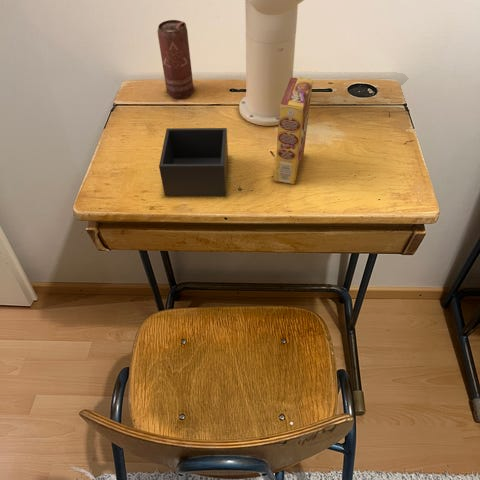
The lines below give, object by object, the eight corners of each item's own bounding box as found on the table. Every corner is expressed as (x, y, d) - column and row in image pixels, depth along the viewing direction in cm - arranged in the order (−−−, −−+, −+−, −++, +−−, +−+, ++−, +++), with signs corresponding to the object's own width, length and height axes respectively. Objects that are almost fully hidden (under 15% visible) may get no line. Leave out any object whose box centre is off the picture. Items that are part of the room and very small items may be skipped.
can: (200, 91, 105) (193, 24, 94) (178, 102, 103) (169, 35, 91) (183, 82, 108) (174, 15, 96) (161, 92, 105) (150, 25, 94)
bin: (171, 158, 91) (166, 128, 86) (228, 158, 91) (226, 127, 86) (164, 196, 85) (158, 166, 80) (225, 196, 85) (223, 165, 79)
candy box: (296, 185, 86) (303, 107, 73) (273, 182, 87) (277, 104, 74) (305, 156, 91) (313, 78, 78) (283, 153, 91) (288, 75, 79)
